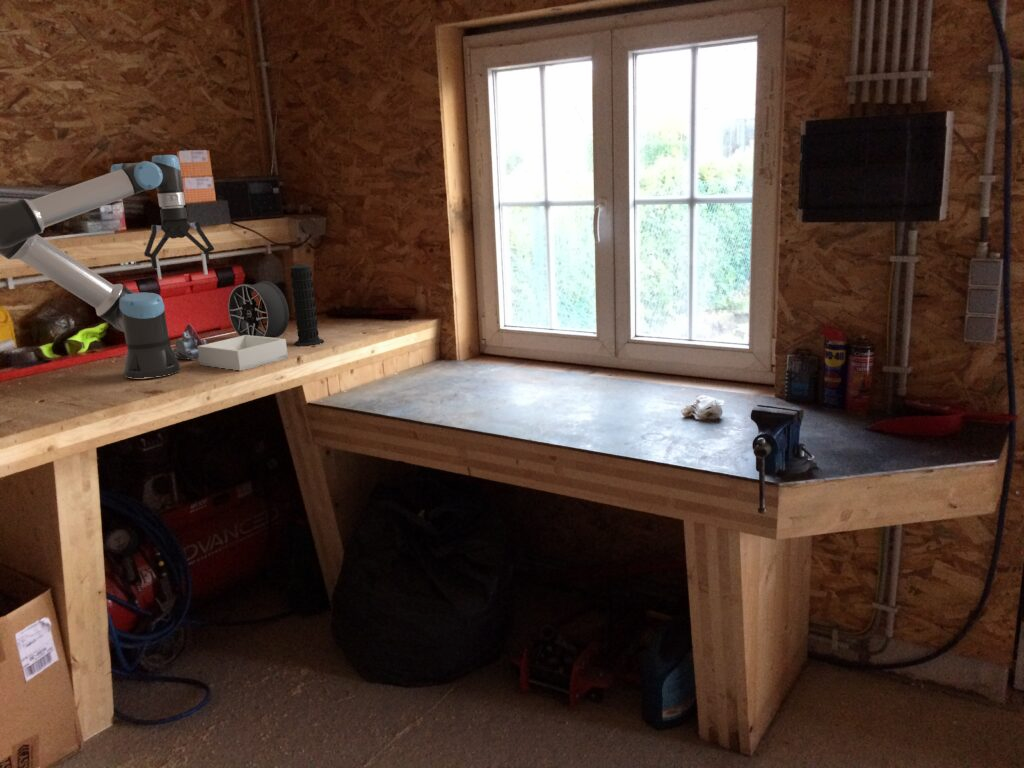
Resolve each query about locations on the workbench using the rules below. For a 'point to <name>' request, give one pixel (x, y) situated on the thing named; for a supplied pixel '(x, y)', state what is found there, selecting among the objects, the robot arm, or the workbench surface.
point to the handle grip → (304, 305)
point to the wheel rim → (258, 310)
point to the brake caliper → (188, 344)
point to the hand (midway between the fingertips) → (183, 276)
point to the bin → (242, 352)
